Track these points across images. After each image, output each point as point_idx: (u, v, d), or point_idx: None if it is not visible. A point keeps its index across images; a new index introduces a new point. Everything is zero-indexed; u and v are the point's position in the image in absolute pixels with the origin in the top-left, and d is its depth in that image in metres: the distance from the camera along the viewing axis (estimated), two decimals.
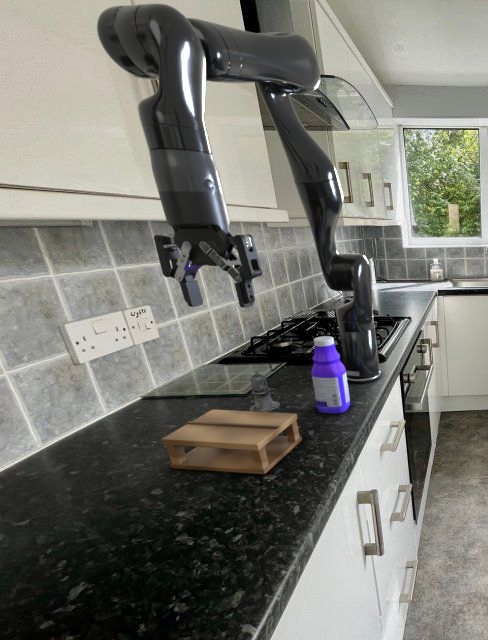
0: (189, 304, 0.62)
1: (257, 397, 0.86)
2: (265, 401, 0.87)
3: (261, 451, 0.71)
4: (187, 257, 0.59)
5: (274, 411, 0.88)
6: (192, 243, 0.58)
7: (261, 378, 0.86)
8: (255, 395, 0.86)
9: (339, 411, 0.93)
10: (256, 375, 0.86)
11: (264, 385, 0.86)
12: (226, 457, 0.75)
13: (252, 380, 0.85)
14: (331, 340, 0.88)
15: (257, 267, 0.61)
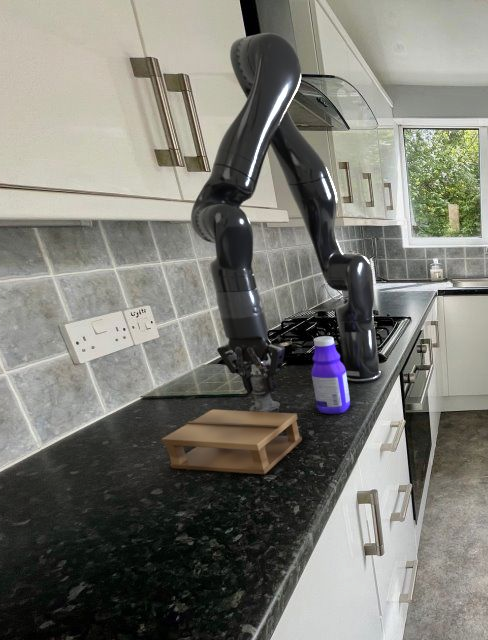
0: (248, 391, 0.87)
1: (257, 397, 0.86)
2: (265, 401, 0.87)
3: (261, 451, 0.71)
4: (238, 357, 0.83)
5: (274, 411, 0.88)
6: (242, 347, 0.82)
7: (261, 378, 0.86)
8: (255, 395, 0.86)
9: (339, 411, 0.93)
10: (256, 375, 0.86)
11: None
12: (226, 457, 0.75)
13: (252, 380, 0.85)
14: (331, 340, 0.88)
15: (279, 366, 0.86)
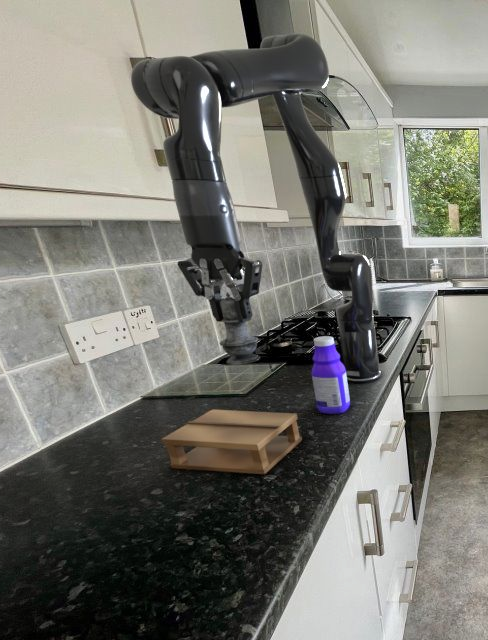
0: (217, 319, 0.70)
1: (228, 327, 0.70)
2: (239, 332, 0.70)
3: (261, 451, 0.71)
4: (203, 272, 0.66)
5: (250, 346, 0.71)
6: (208, 260, 0.66)
7: (233, 302, 0.69)
8: (226, 324, 0.70)
9: (339, 411, 0.93)
10: (227, 298, 0.69)
11: None
12: (226, 457, 0.75)
13: (222, 304, 0.68)
14: (331, 340, 0.88)
15: (255, 288, 0.69)
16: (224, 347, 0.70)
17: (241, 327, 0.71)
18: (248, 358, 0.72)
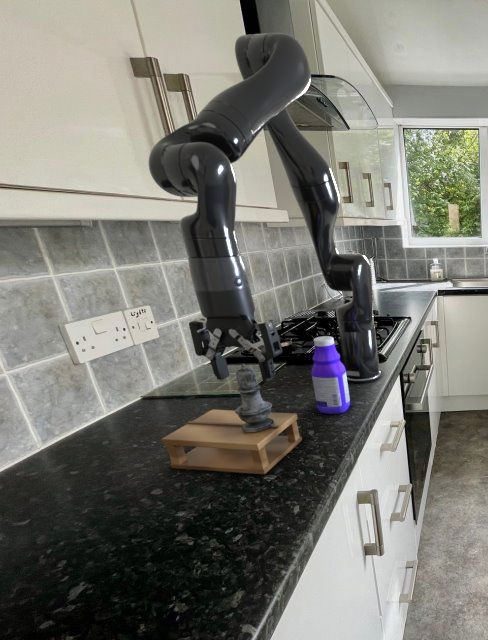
0: (218, 378, 0.71)
1: (243, 397, 0.71)
2: (254, 401, 0.72)
3: (261, 451, 0.71)
4: (218, 341, 0.67)
5: (265, 413, 0.73)
6: (222, 329, 0.67)
7: (249, 373, 0.71)
8: (242, 394, 0.71)
9: (339, 411, 0.93)
10: (243, 369, 0.71)
11: (252, 381, 0.71)
12: (226, 457, 0.75)
13: (238, 375, 0.70)
14: (331, 340, 0.88)
15: (278, 347, 0.69)
16: (240, 415, 0.72)
17: (256, 396, 0.72)
18: (262, 424, 0.74)
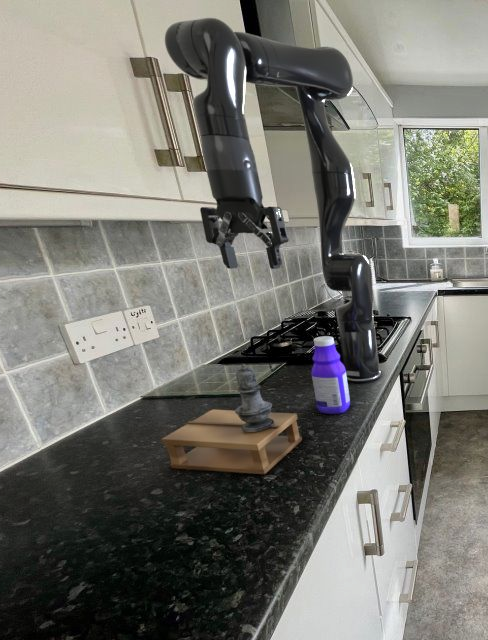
0: (227, 266, 0.75)
1: (243, 397, 0.71)
2: (254, 401, 0.72)
3: (261, 451, 0.71)
4: (227, 225, 0.71)
5: (265, 413, 0.73)
6: (232, 214, 0.71)
7: (249, 373, 0.71)
8: (242, 394, 0.71)
9: (339, 411, 0.93)
10: (243, 369, 0.71)
11: (252, 381, 0.71)
12: (226, 457, 0.75)
13: (238, 375, 0.70)
14: (331, 340, 0.88)
15: (284, 234, 0.73)
16: (240, 415, 0.72)
17: (256, 396, 0.72)
18: (262, 424, 0.74)
